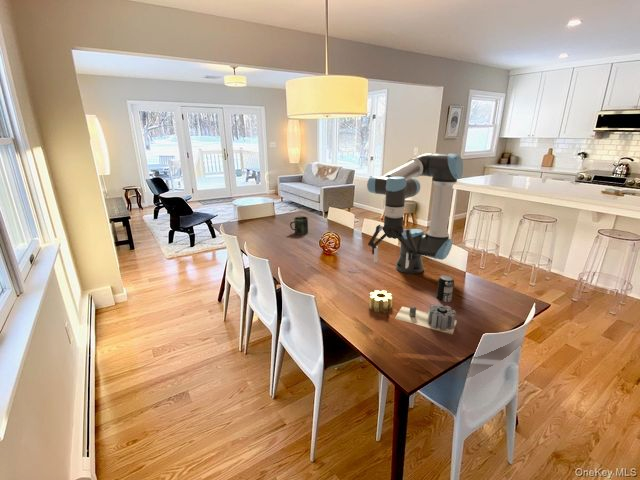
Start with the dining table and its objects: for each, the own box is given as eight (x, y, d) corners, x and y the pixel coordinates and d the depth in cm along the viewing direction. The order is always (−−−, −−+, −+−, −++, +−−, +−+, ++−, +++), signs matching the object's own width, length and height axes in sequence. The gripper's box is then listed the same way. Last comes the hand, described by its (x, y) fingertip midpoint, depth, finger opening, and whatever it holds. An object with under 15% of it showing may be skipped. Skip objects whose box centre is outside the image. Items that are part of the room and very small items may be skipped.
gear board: (402, 308, 143) (402, 298, 141) (456, 322, 132) (458, 311, 130) (394, 320, 134) (395, 310, 132) (452, 337, 123) (453, 325, 121)
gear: (425, 315, 135) (427, 301, 133) (450, 317, 134) (452, 302, 131) (430, 329, 126) (431, 314, 123) (456, 331, 124) (458, 316, 122)
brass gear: (374, 299, 151) (374, 288, 149) (394, 304, 146) (395, 293, 144) (365, 309, 143) (366, 297, 141) (387, 315, 138) (388, 303, 136)
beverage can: (439, 295, 154) (442, 273, 150) (453, 299, 150) (456, 276, 146) (434, 301, 149) (437, 277, 145) (448, 305, 145) (451, 281, 141)
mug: (310, 233, 248) (310, 218, 244) (292, 236, 243) (292, 221, 239) (305, 230, 257) (305, 215, 253) (288, 232, 252) (287, 217, 248)
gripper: (361, 214, 131) (360, 262, 138) (423, 221, 119) (418, 273, 126) (368, 210, 137) (366, 256, 144) (427, 217, 126) (422, 266, 132)
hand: (390, 264), depth 135 cm, fingers open, 13 cm apart
